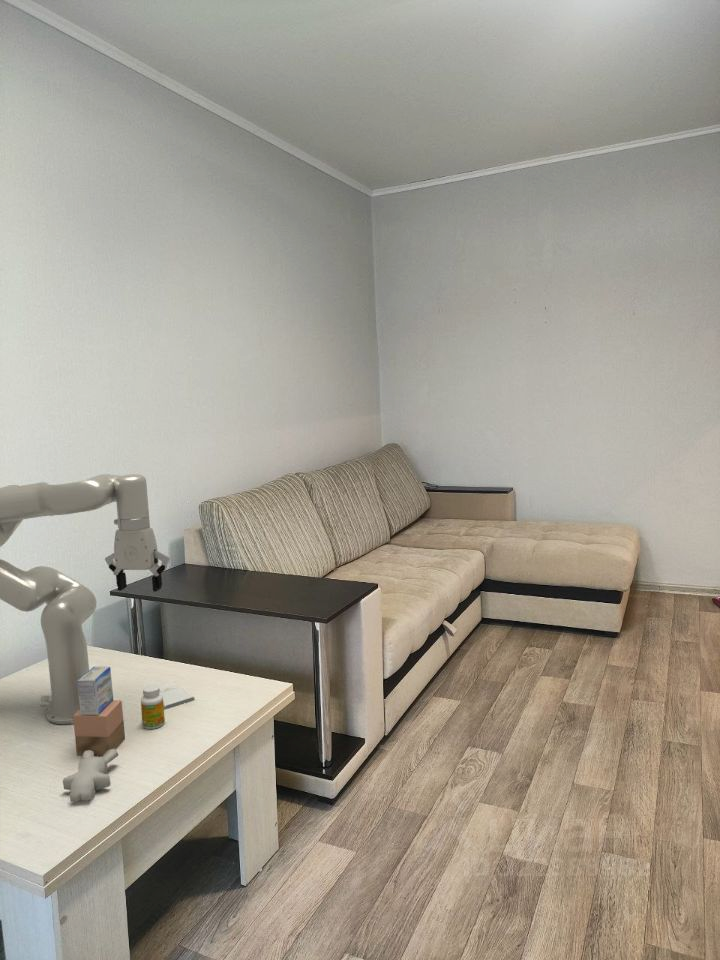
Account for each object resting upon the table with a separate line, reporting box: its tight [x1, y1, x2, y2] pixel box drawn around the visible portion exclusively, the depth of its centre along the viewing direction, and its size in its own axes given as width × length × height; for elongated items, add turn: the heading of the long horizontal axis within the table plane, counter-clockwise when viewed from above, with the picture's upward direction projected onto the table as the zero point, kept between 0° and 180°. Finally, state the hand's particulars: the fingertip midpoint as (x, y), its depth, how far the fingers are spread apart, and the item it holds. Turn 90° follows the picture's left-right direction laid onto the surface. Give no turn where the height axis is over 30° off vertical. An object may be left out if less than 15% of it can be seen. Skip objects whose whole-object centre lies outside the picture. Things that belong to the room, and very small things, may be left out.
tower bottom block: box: [74, 719, 126, 757], centre depth 164 cm, size 8×8×5 cm
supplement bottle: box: [140, 684, 166, 730], centre depth 173 cm, size 5×5×10 cm
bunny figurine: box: [62, 749, 119, 802], centre depth 149 cm, size 10×5×15 cm
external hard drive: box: [159, 682, 196, 710], centre depth 189 cm, size 2×8×12 cm
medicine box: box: [77, 665, 114, 715], centre depth 162 cm, size 8×4×9 cm, turn 174°
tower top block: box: [73, 699, 124, 737], centre depth 163 cm, size 8×8×5 cm
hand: (139, 589), depth 177 cm, fingers open, 9 cm apart
